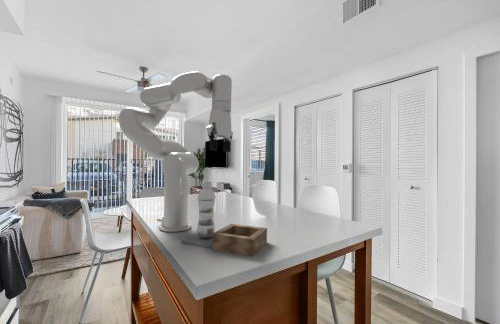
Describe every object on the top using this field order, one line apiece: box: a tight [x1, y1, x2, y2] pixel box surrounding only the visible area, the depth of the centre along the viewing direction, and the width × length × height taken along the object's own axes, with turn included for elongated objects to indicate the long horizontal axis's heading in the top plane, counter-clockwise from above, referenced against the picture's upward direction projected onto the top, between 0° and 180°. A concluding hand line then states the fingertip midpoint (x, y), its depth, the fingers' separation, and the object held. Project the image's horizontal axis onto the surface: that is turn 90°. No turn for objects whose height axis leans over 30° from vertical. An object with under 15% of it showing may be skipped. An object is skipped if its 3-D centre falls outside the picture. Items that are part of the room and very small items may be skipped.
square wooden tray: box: [211, 223, 268, 257], centre depth 81 cm, size 14×14×5 cm
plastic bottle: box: [196, 181, 217, 238], centre depth 87 cm, size 6×7×20 cm
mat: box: [180, 233, 212, 249], centre depth 86 cm, size 12×12×1 cm
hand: (220, 151), depth 95 cm, fingers open, 9 cm apart
